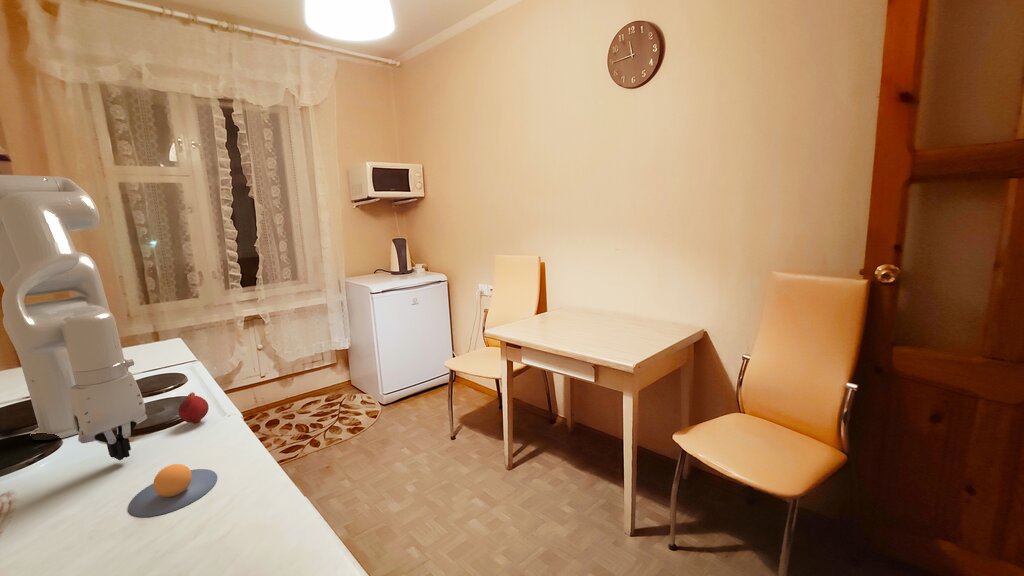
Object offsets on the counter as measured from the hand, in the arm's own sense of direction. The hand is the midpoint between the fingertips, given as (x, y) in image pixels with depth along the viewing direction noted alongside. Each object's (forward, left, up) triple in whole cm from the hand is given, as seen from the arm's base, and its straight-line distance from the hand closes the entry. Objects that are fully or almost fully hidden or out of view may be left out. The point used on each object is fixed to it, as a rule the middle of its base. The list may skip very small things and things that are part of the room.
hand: (121, 456), depth 88 cm
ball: (+22, -1, +1) cm, 22 cm away
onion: (-4, +16, -2) cm, 17 cm away
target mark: (+21, 0, -2) cm, 21 cm away
